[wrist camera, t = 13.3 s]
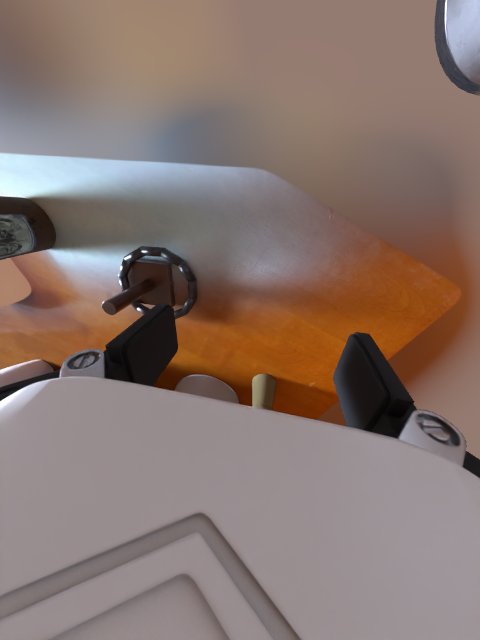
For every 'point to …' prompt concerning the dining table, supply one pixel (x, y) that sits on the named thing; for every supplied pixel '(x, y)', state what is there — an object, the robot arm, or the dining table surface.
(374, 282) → the dining table surface
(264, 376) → the wooden peg doll
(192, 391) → the container
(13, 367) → the vase
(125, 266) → the ring
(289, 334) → the dining table surface
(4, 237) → the olive oil
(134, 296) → the peg
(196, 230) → the dining table surface
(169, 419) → the robot arm
